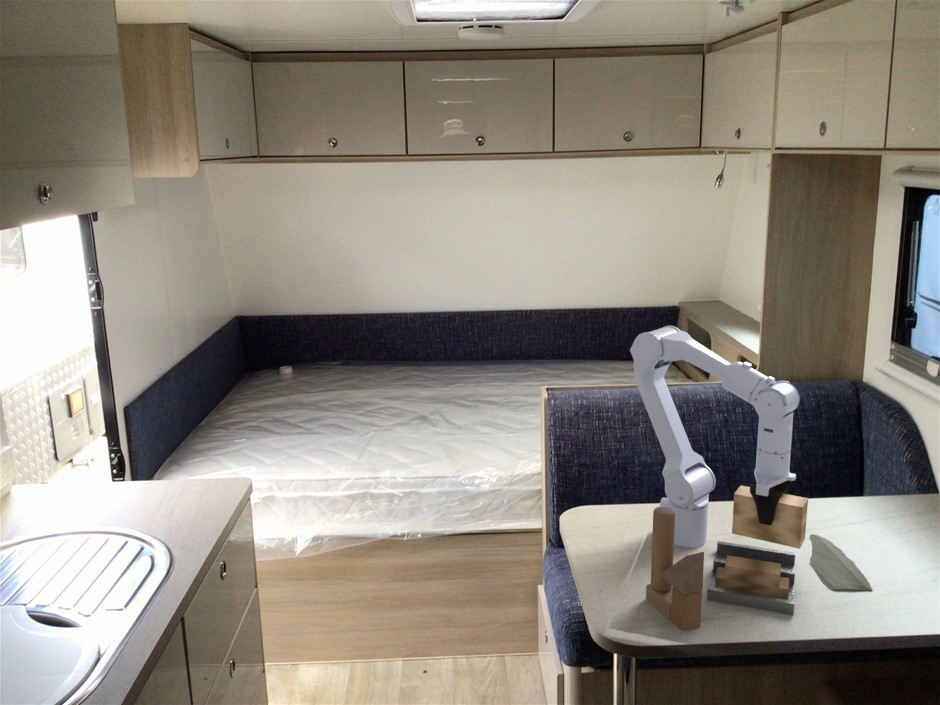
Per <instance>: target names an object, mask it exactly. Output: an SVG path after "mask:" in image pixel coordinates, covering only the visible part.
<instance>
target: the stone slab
mask: <svg viewBox="0 0 940 705" xmlns="http://www.w3.org/2000/svg"><path fill="white" fill-rule="evenodd" d="M809 540H810V543H811V555H810V558H809V562H808V564H809V566H810V567H811V568H812V570H813V571H814V572H815V574H816V575H817V578H818V579H819V581H821V583H822V584H823V585H824V586H825V587H826V588H827V589H829V590H830V591H831V592H873V588H872V586H871V584H870V582H869V581H868V579H867V578H866V577H865V574H863V573H862V571H861V570H860V569H859V568H858V566H857V565H856V563H855V562H854V561H853V560H852V559H850V558H849V557H848V556H847V555H846V554H845V553H844V552H843V550H842V549H841V548H838V547H837V545H835V544H834V542H832V541H830V539H829V540H828V538H825V537H823V536H821V535H818V534H814V533H813V534H809Z"/></svg>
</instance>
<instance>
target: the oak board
mask: <svg viewBox="0 0 940 705" xmlns="http://www.w3.org/2000/svg"><path fill="white" fill-rule="evenodd" d="M808 505H809V498H808V497H802V496H797V495H792V494H787V493H785V494H783V495H782V496H781V498H780V500H779V502H778V504H777V507H776V512H775V516H774V520H773V522H772V525H765V524H761V523H759V519H758V514H757V508H756V504H755V501H754V499H753V497H752V495H751V493H750V486H745V485H740V486H739V487H737V489H736V491H735V492H734V493H733V508H732V528H731V534H732V535H737V536H742V537H746V538H750V539H754V540H755V539H756V540H759V541H763V542H768V543H773V544H777V545H781V546H786V547H791V548H795V549H801V547H802V545H803V543H804V542H805V539H806V530H807V520H808V519H807V518H808V517H807V516H808Z"/></svg>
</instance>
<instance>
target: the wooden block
mask: <svg viewBox="0 0 940 705" xmlns="http://www.w3.org/2000/svg"><path fill="white" fill-rule="evenodd" d="M652 513H653V514H652V533H651V534H652V538H651V539H652V540H651V542H652V543H651V563H650V564H651V568H650V570H651V571H650V583H648V584H646V587H645V600H646V602H648V603H649V604H650V605H651V606H653V607H654V608H655V609H656V610H657V611H658V612H659V613H661V614H662V615H663V616H665V617H666V618H667V619H668V620H670V622H671V623H672V624H674V625H675V626H676V627H677V628H678V629H680V630H681V631H682V632H685V631H689V630H693V629H697V628H700V627H701V622H702V621H701V618H702V600H703V598H702V597H703V593H702V591H703V584H704V583H703V581H704V580H703V579H704V567H705V566H704V563H705V551H701V552H696V553H692V554H688V555H685V556H684V557H683V558H681V559H680V560H678V561H677V562H675V563H674V549H675V544H674V530H675V511H674V510H673V509H671V508H668V507H660V506H658V507H657V506H656V507H655V508H654V509H653V511H652Z"/></svg>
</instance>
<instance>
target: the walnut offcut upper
mask: <svg viewBox="0 0 940 705" xmlns="http://www.w3.org/2000/svg"><path fill="white" fill-rule="evenodd" d="M780 569H781V564H779V563H773V562H766V561H760V560H753V559H747V558H741V557H734V556H728V555H727V559H726V565H725V579H730V580H736V581H742V582H747V583H753V584H759V585H765V586H771V587H777V588H779V584H780Z"/></svg>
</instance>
